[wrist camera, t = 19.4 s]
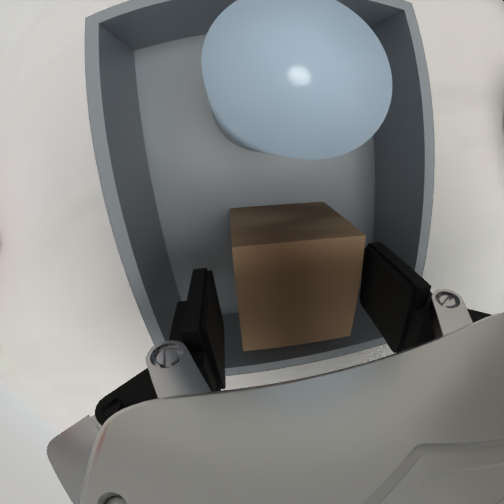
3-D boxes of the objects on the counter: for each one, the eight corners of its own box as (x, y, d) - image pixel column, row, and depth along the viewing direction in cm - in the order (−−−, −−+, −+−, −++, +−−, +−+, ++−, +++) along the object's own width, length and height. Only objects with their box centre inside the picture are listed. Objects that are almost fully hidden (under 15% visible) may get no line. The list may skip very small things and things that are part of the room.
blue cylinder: (326, 133, 13) (412, 132, 6) (234, 167, 13) (249, 189, 6) (290, 47, 11) (348, -17, 4) (195, 77, 11) (172, 16, 4)
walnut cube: (323, 201, 14) (365, 235, 10) (320, 282, 16) (350, 335, 12) (229, 208, 14) (231, 247, 9) (238, 291, 16) (243, 351, 11)
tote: (371, 291, 18) (406, 336, 13) (181, 322, 17) (171, 379, 13) (363, 29, 10) (411, 3, 6) (126, 47, 10) (85, 17, 5)
